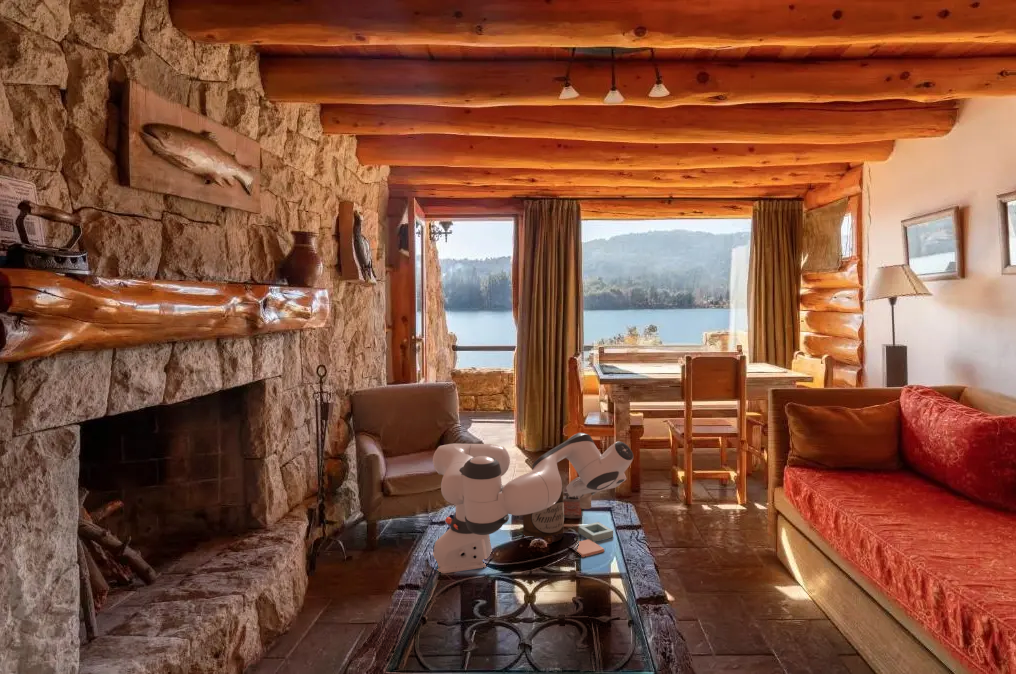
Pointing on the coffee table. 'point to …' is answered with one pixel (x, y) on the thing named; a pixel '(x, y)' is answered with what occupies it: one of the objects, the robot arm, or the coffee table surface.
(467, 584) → the coffee table surface
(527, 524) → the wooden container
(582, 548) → the terracotta tile
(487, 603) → the coffee table surface
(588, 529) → the pocket holder
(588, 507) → the peg
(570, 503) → the lighter
